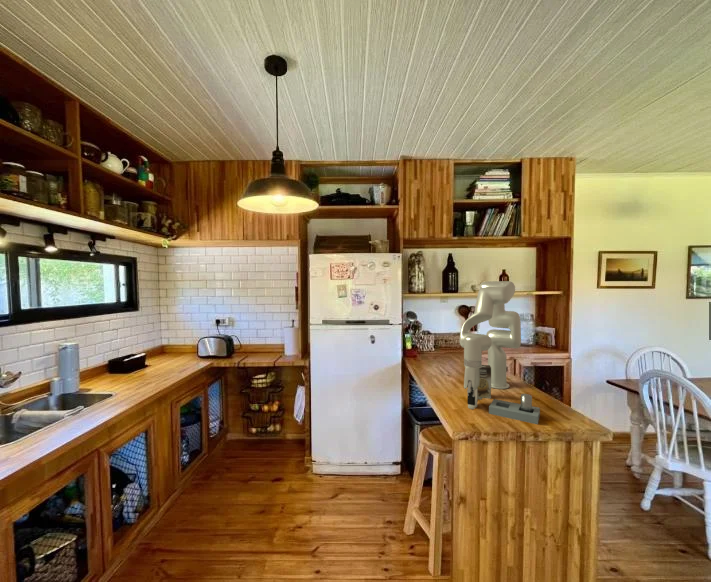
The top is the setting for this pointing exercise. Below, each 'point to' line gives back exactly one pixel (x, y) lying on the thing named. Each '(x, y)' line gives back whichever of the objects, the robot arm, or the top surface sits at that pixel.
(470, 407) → the cream rounded smooth part
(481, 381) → the coffee box
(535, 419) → the block
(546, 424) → the top surface
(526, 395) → the metal cylinder peg
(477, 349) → the robot arm
